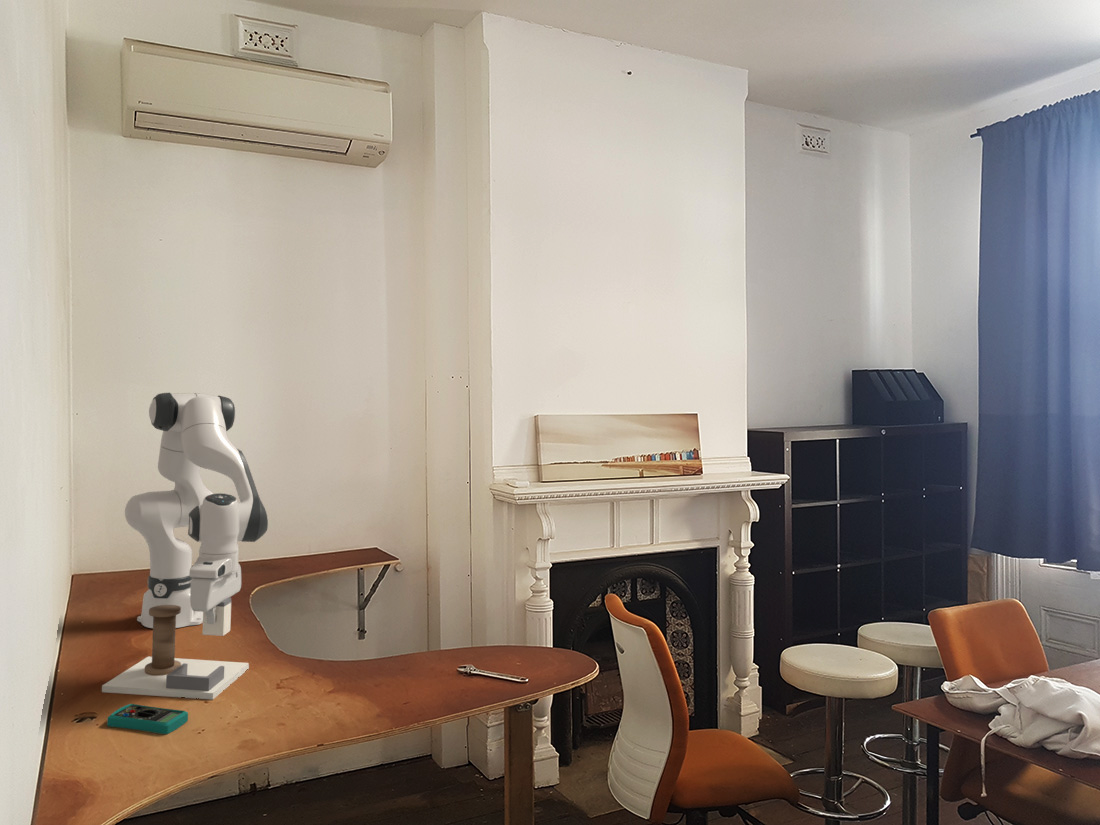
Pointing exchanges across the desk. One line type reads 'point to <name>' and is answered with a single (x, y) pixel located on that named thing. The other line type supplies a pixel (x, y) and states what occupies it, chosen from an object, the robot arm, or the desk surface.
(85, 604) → the desk surface
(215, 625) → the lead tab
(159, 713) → the digital multimeter
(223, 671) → the board
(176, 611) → the bobbin
